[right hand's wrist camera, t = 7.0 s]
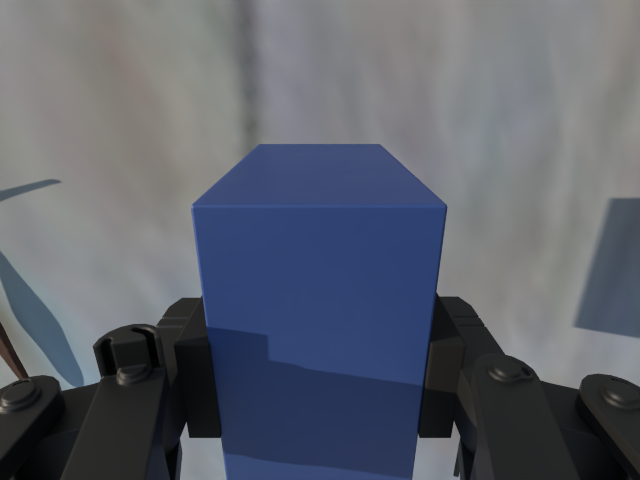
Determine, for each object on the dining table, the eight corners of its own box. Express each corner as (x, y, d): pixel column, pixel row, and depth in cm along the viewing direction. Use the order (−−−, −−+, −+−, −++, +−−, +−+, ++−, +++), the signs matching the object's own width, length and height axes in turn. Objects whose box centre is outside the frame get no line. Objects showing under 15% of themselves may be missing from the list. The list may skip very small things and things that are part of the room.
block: (258, 144, 15) (189, 205, 7) (380, 144, 15) (449, 205, 7) (269, 332, 18) (230, 518, 10) (369, 332, 18) (407, 518, 10)
